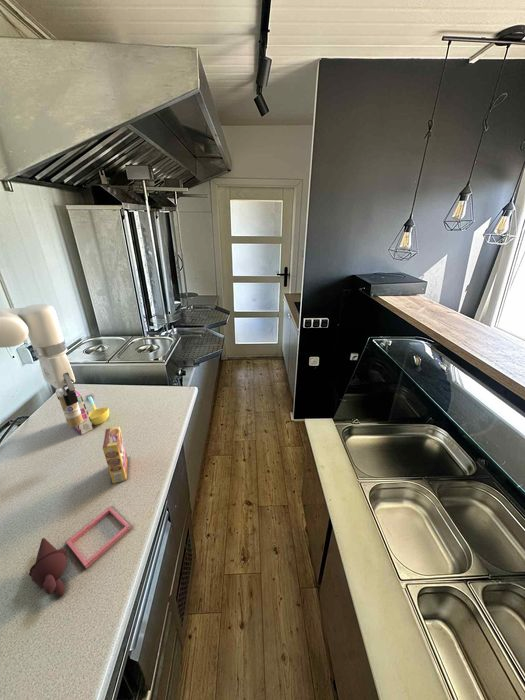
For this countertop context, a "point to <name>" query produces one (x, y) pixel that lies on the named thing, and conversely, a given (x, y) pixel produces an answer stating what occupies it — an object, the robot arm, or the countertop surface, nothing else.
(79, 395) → the candy bar box
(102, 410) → the ladle
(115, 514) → the pink rectangular frame
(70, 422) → the sprinkles bottle
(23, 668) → the countertop surface
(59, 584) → the icecream
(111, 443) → the candy box
